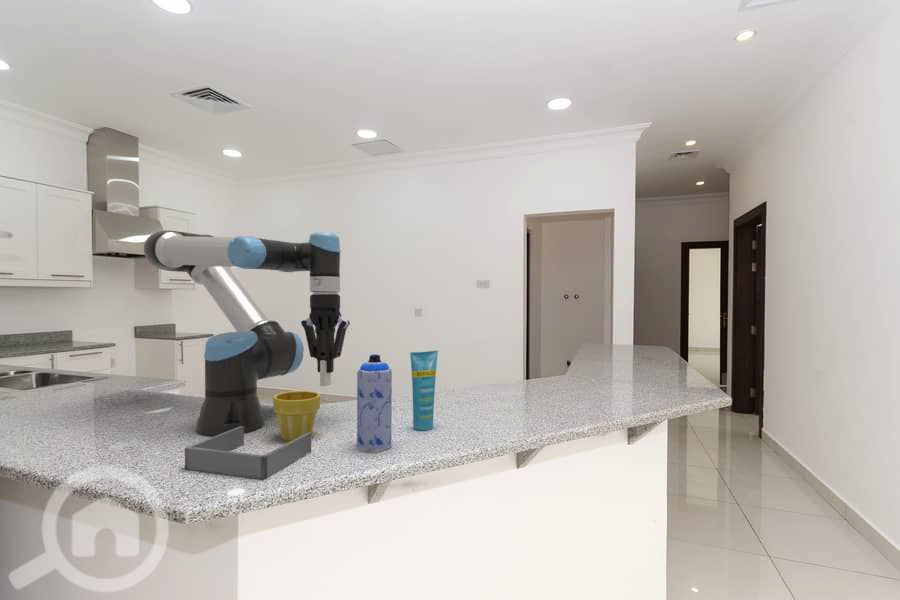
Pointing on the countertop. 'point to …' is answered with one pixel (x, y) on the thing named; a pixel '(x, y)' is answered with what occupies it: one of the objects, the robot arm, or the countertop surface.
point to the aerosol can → (374, 406)
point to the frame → (242, 455)
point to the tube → (423, 388)
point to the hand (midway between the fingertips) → (325, 385)
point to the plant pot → (296, 412)
